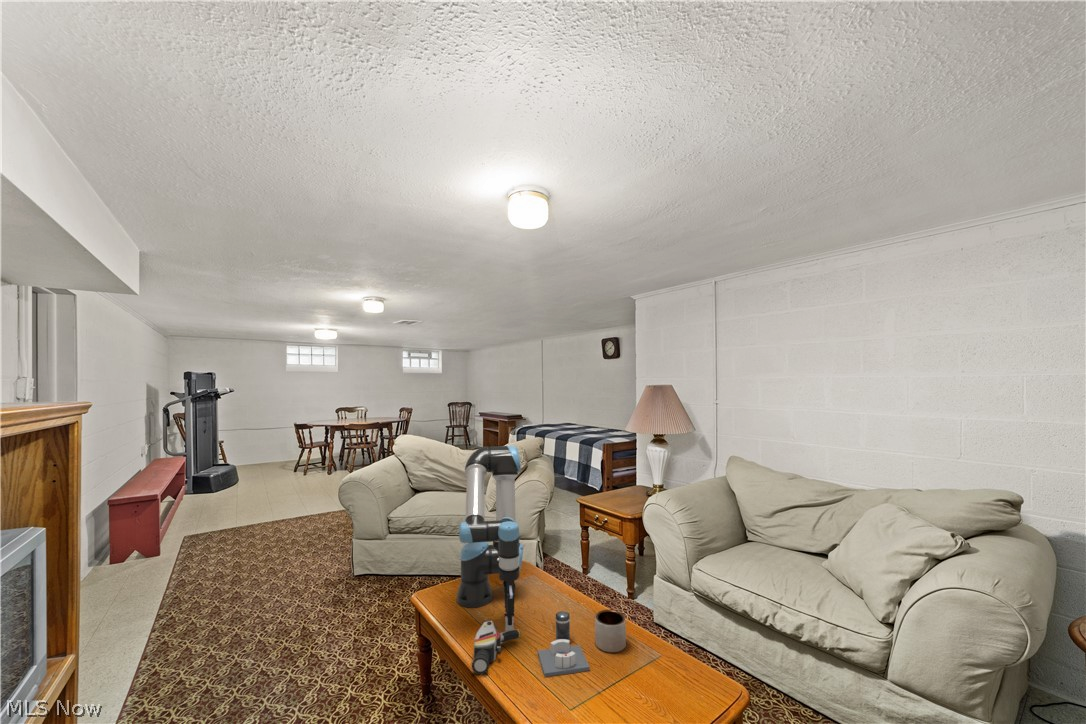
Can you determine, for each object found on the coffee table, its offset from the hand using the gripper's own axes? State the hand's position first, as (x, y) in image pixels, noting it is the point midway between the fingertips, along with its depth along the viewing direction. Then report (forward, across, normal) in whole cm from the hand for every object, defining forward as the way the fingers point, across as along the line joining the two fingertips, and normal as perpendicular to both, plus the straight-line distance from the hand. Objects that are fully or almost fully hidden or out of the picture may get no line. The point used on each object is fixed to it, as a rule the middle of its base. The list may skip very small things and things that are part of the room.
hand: (509, 632), depth 162 cm
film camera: (+3, +8, -6) cm, 10 cm away
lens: (+3, +4, +19) cm, 20 cm away
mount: (+3, +16, +16) cm, 23 cm away
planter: (+3, +10, +35) cm, 37 cm away
